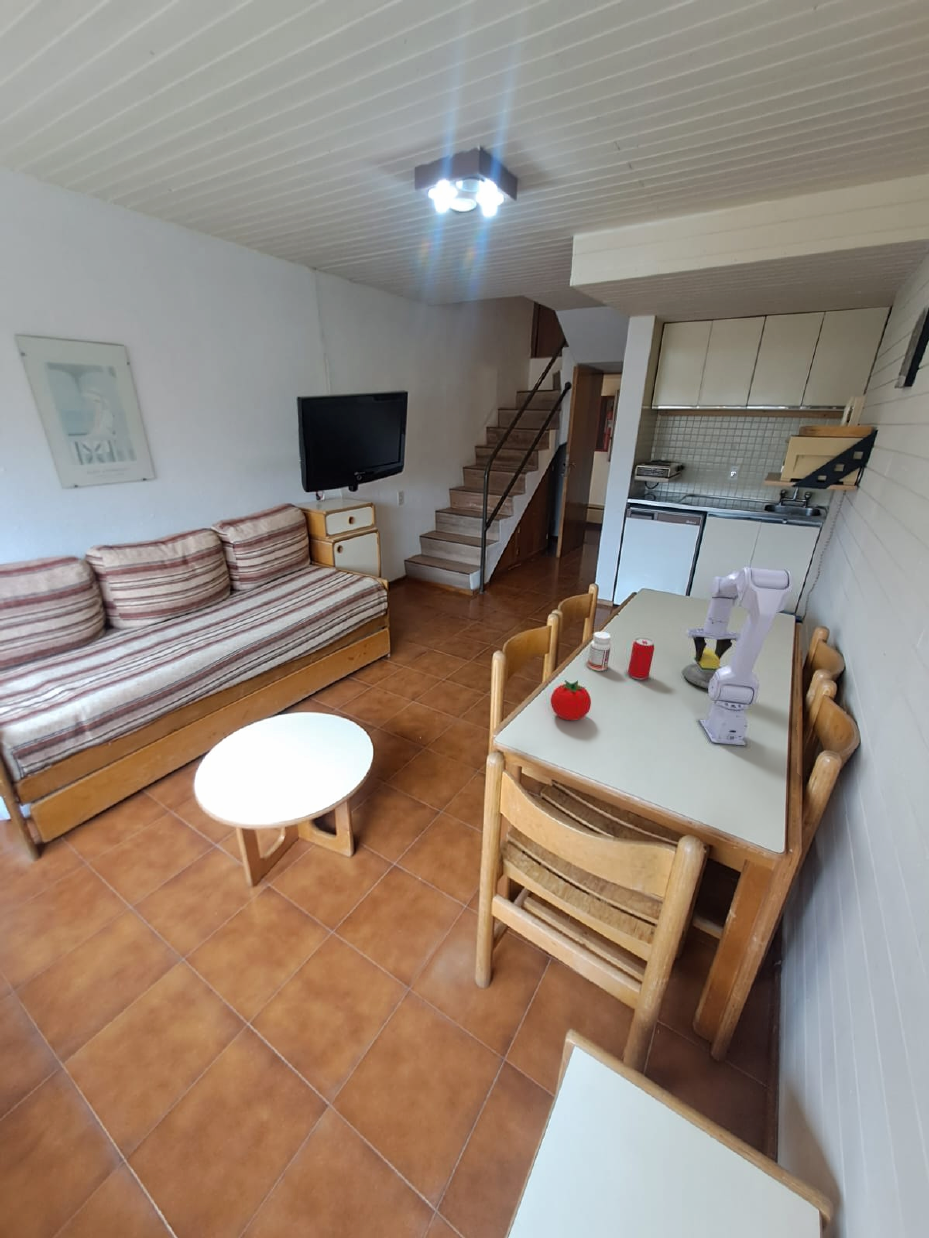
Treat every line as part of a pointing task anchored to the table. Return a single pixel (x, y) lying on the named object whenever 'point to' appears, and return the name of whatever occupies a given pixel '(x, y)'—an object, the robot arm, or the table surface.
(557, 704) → the tomato
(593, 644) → the pill bottle
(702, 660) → the sponge
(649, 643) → the beverage can
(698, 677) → the flying saucer
